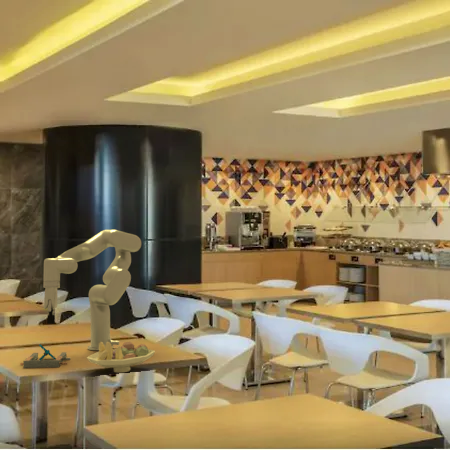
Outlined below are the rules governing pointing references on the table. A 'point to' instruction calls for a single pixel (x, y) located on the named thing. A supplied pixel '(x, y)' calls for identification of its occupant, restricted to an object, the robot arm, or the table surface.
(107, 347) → the dish with food
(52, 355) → the gear
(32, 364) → the rail
